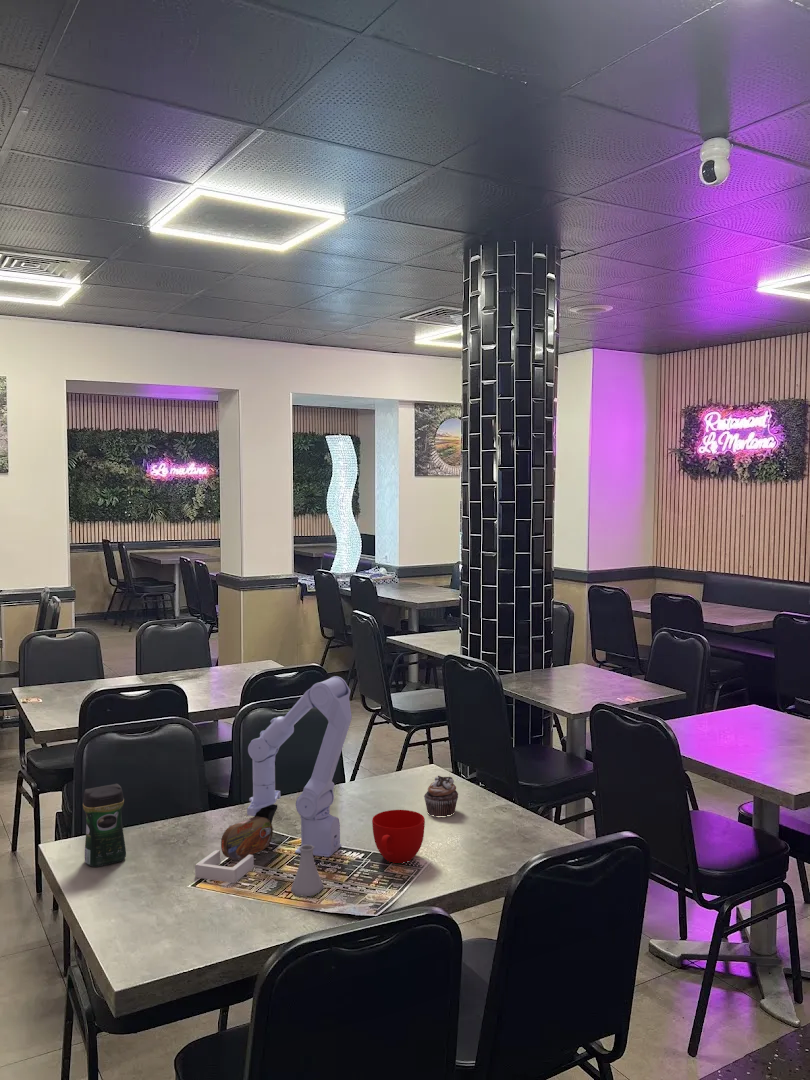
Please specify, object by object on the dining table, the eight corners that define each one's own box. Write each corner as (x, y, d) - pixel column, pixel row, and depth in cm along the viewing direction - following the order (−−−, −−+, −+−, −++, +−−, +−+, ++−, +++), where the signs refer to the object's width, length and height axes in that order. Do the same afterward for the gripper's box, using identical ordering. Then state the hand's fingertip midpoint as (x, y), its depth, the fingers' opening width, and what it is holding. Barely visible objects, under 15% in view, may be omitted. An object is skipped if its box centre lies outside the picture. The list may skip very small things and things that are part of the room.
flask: (309, 900, 190) (309, 855, 190) (284, 893, 194) (284, 849, 194) (329, 888, 196) (329, 844, 196) (304, 881, 200) (304, 838, 200)
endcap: (253, 867, 208) (253, 855, 208) (234, 883, 199) (234, 870, 199) (215, 862, 211) (215, 849, 211) (195, 877, 203) (195, 864, 203)
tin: (227, 865, 209) (226, 831, 209) (219, 861, 211) (218, 828, 211) (274, 846, 221) (273, 813, 221) (265, 843, 223) (265, 811, 223)
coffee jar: (121, 851, 219) (119, 778, 218) (128, 861, 212) (127, 787, 211) (81, 859, 214) (79, 785, 213) (87, 870, 207) (86, 794, 206)
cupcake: (426, 806, 250) (425, 772, 249) (459, 807, 248) (459, 773, 248) (422, 818, 240) (422, 782, 240) (456, 819, 239) (456, 783, 239)
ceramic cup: (358, 871, 205) (357, 830, 205) (384, 845, 221) (383, 807, 220) (409, 879, 200) (408, 837, 200) (432, 852, 216) (431, 812, 216)
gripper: (263, 772, 232) (264, 822, 233) (236, 789, 218) (237, 842, 219) (287, 775, 230) (287, 825, 230) (260, 792, 216) (261, 845, 217)
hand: (264, 833), depth 224 cm, fingers closed
